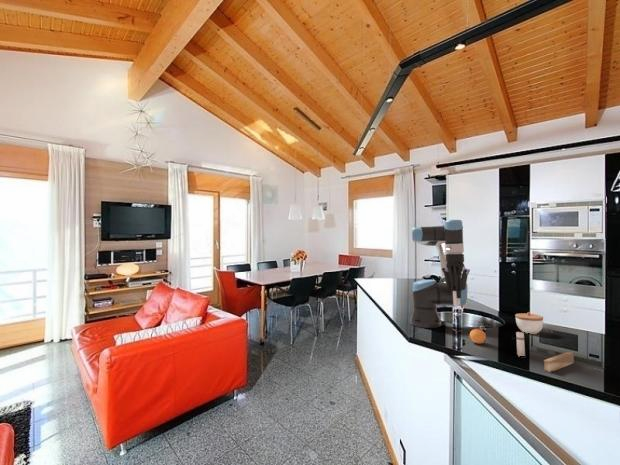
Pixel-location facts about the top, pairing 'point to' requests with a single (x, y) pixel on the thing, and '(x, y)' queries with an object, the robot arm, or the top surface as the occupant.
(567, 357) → the wall
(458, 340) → the top surface
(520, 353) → the pin
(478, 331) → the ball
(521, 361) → the top surface
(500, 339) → the top surface
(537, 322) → the lidded jar
